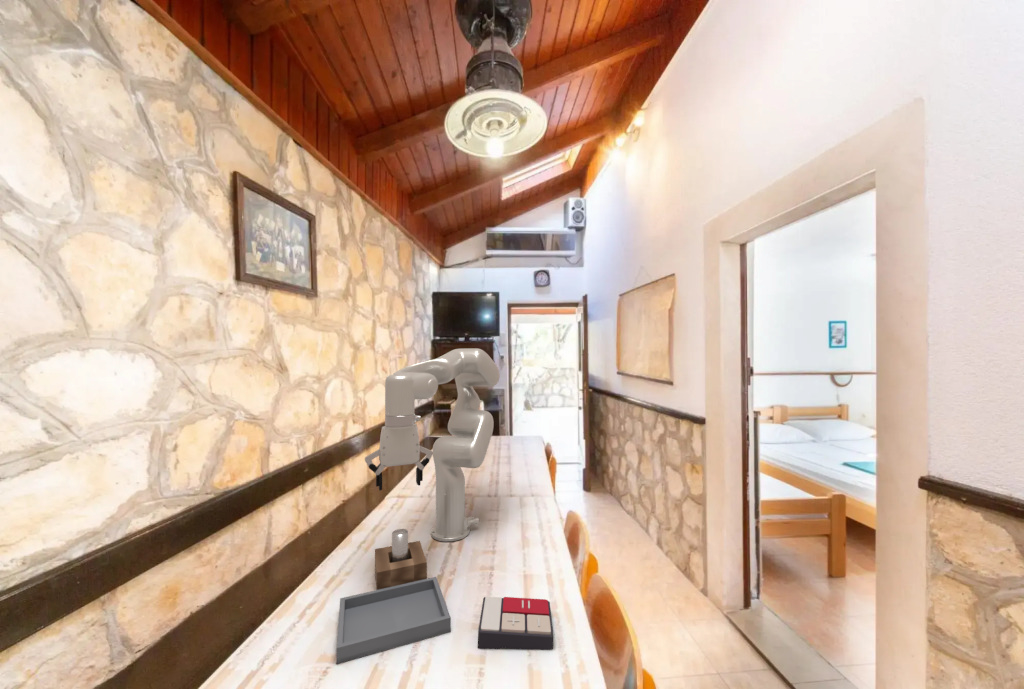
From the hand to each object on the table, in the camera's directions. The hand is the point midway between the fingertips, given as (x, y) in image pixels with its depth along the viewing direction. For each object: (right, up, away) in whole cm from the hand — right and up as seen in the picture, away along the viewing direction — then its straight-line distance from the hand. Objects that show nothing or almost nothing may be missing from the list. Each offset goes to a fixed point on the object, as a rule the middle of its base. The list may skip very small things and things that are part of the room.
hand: (399, 486), depth 100 cm
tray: (+3, -24, -16) cm, 29 cm away
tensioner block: (0, -24, -1) cm, 24 cm away
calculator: (+30, -24, -19) cm, 43 cm away
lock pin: (0, -24, -1) cm, 24 cm away
